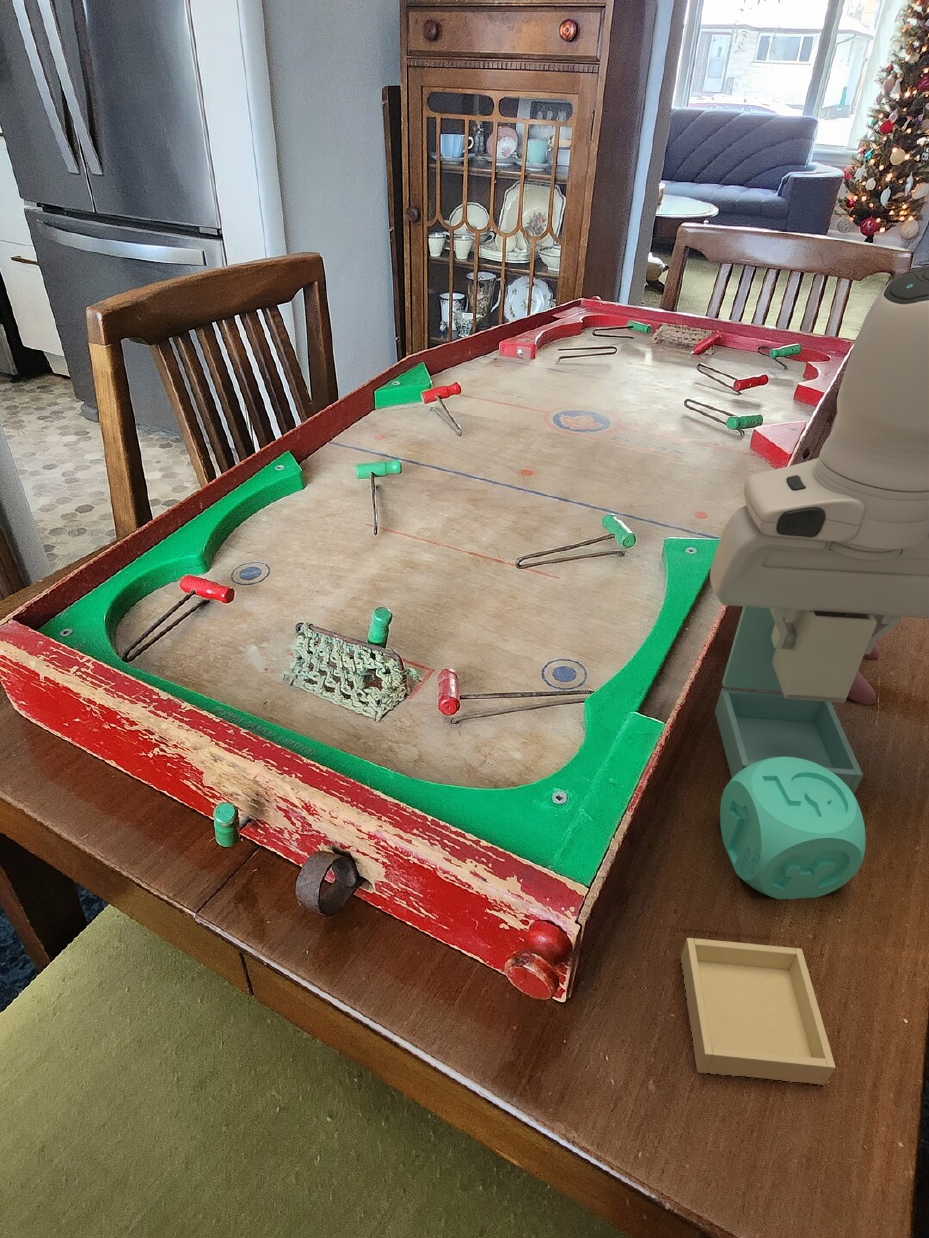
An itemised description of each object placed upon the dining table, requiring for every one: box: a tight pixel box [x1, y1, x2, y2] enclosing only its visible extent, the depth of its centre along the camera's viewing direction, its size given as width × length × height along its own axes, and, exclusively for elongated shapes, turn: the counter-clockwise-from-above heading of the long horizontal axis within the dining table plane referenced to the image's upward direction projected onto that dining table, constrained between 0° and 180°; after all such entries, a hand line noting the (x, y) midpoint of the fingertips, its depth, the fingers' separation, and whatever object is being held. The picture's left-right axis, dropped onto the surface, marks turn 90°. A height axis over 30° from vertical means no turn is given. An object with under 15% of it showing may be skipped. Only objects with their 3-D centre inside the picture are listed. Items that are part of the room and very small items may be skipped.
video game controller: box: [847, 642, 881, 706], centre depth 82 cm, size 10×5×7 cm, turn 154°
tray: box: [680, 937, 836, 1086], centre depth 52 cm, size 8×8×2 cm
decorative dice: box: [719, 757, 867, 900], centre depth 61 cm, size 8×8×8 cm
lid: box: [721, 606, 786, 693], centre depth 72 cm, size 11×10×1 cm
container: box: [772, 610, 877, 704], centre depth 66 cm, size 5×5×8 cm
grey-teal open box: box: [714, 687, 864, 796], centre depth 72 cm, size 10×10×4 cm
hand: (818, 647), depth 66 cm, fingers closed on container, 5 cm apart
